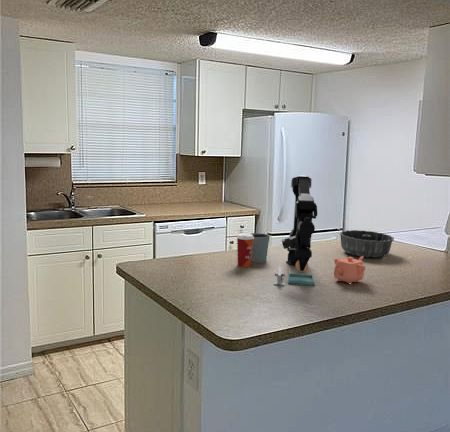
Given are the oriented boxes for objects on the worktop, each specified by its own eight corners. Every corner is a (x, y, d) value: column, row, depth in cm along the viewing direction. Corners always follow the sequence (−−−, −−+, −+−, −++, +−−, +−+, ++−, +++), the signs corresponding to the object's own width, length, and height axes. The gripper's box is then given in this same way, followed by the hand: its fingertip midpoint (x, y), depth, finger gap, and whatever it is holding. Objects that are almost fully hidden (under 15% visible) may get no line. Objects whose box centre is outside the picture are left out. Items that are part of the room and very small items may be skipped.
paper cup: (251, 268, 208) (252, 237, 206) (234, 267, 209) (235, 235, 207) (253, 264, 215) (255, 233, 213) (237, 262, 217) (238, 232, 215)
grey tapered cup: (243, 261, 220) (244, 235, 218) (250, 256, 229) (251, 232, 227) (264, 264, 216) (265, 238, 214) (270, 259, 226) (272, 234, 224)
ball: (302, 269, 195) (303, 257, 194) (310, 272, 190) (311, 260, 190) (292, 270, 192) (293, 258, 191) (300, 273, 188) (301, 261, 187)
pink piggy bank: (364, 288, 186) (366, 262, 184) (333, 285, 188) (335, 260, 186) (361, 278, 199) (363, 254, 198) (332, 275, 202) (334, 252, 200)
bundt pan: (397, 253, 247) (399, 234, 246) (384, 263, 225) (386, 243, 224) (348, 246, 261) (349, 228, 260) (331, 254, 239) (332, 235, 237)
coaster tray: (288, 276, 198) (288, 273, 197) (313, 278, 196) (313, 274, 196) (288, 283, 188) (288, 280, 187) (314, 285, 186) (314, 282, 186)
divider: (275, 273, 201) (275, 264, 200) (284, 274, 200) (285, 265, 200) (273, 285, 185) (274, 275, 185) (284, 285, 185) (284, 275, 184)
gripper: (283, 225, 199) (281, 262, 201) (283, 234, 181) (281, 274, 183) (310, 227, 197) (308, 263, 200) (313, 236, 179) (310, 276, 182)
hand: (301, 269), depth 191 cm, fingers closed on ball, 5 cm apart
